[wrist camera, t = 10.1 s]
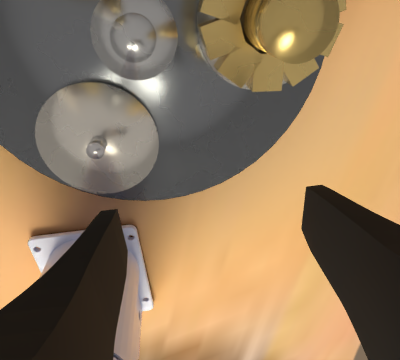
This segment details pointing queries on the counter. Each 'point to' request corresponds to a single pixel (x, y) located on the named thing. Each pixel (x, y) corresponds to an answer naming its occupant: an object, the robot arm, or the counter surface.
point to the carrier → (130, 98)
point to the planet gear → (269, 39)
